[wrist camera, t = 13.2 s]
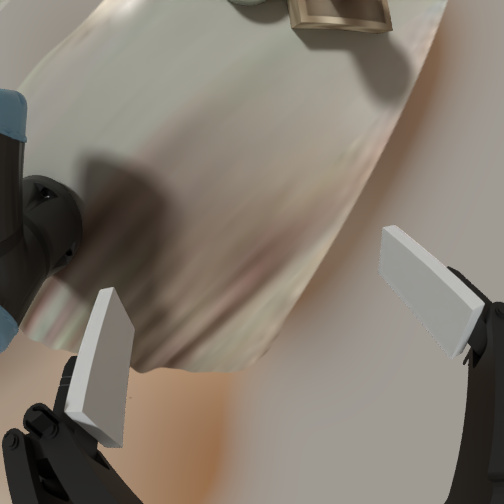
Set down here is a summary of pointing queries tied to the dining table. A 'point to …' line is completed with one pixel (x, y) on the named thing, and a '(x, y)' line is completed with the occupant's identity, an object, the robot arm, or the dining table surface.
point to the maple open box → (341, 15)
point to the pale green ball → (247, 2)
